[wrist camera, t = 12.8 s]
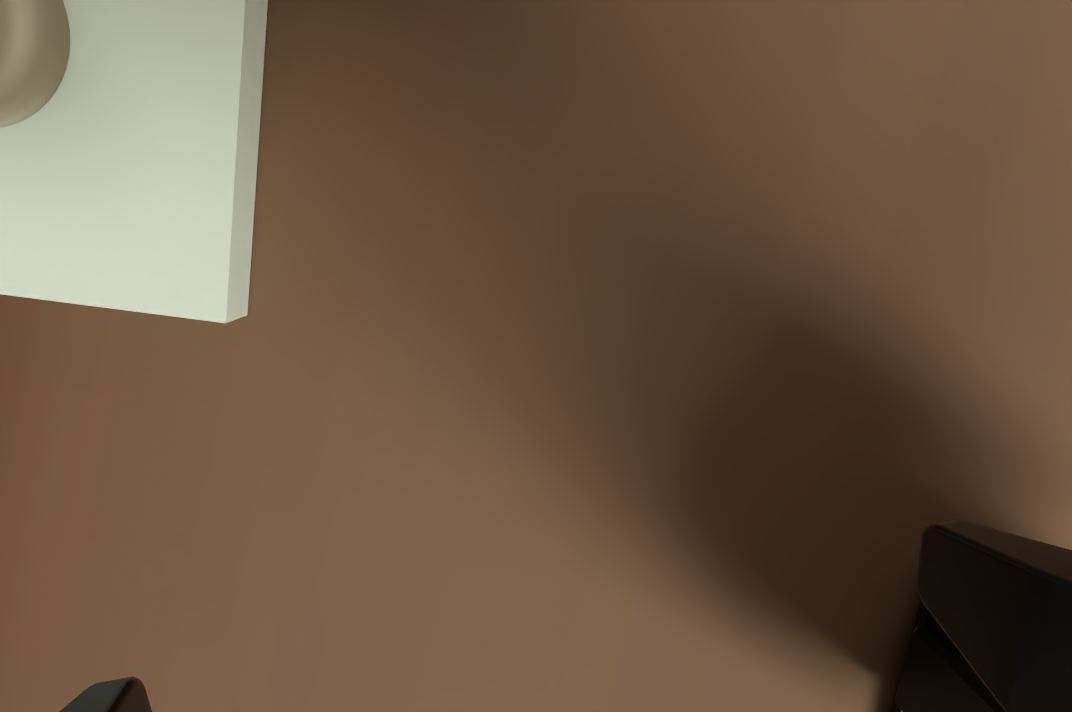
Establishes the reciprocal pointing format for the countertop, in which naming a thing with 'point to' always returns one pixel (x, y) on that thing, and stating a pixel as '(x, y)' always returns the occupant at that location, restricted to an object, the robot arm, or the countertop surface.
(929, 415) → the countertop surface
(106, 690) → the robot arm
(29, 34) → the ash peg
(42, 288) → the green pad
